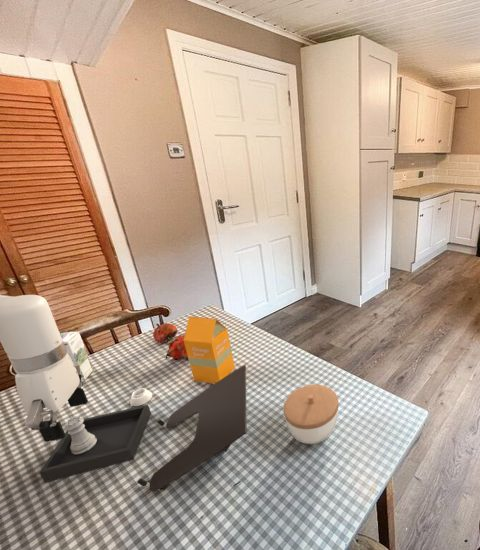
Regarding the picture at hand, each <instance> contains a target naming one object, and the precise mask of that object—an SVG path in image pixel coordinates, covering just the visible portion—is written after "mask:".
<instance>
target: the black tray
mask: <svg viewBox="0 0 480 550" xmlns="http://www.w3.org/2000/svg"><path fill="white" fill-rule="evenodd" d="M151 415H152V412H151V409H150V406H149V404H144V405H139V406H134V407H131V408H126V409H122V410H118V411H117V410H116V411H113V412H108V413H104V414H98V415H95V416H91V417H85V418H83V419H84V421H83V423H82V424H84V425H85V427H84V428H85V429H86V430H87V432H88V433H91V434H93V435H95V438H96V439H97V441H96V444H95V445H94V446H93V448H91V449H90V450H89V451H87V452H85V453H82V454H73V453H72V451H71V448H70V446H71V442H72V438H71V435H70V434H68V430H65V434H66V436H65V437H64V438H63V439H59V442H58V443H57V445H56V446H55V448H54V450H52V452H51V454H50V455H49V456H48V458H47V459H46V461H45V462H44V464H43V466H42V467H41V469H40V471H39V472H38V474H39V476H40V477H41V479H42V481H43V483H45V484H46V483H49V482H50V483H51V482H53V481H54V482H55V481H57V480H60V479H65V478H68V477H73V476H76V475H79V474H84V473H88V472H91V471H95V470H99V469H102V468H106V467H109V466H110V467H111V466H115V465H117V464H122V463H125V462H129V461H132V460H134V459H135V457H136V455H137V454H136V453H137V451H138V449H139V447H140V444H141V441H142V438H143V436H144V433H145V430H146V428H147V426H148V423H149V421H150V417H151Z"/></svg>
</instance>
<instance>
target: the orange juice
mask: <svg viewBox="0 0 480 550" xmlns="http://www.w3.org/2000/svg"><path fill="white" fill-rule="evenodd" d="M184 333H185V337H184V344H185V348H186V352H187V355H188V357H187V359H188V363H189V367H190V370H191V374H192V378H193V381H194V382H198V383H200V382H201V383H209V384H215V383H217V382H218V381H220V380H221V379H223V378H224V377H226V376H228V375H229V374H231V373H232V372H234V369H236V368H235V361H234V356H233V350H232V346H231V342H230V337H229V331H228V328H227V327H226V326H225V325H224V324H223V323H221V322H220V321H219V320H218V319H217V318H209V317H199V316H188V318H187V324H186V328H185V332H184Z"/></svg>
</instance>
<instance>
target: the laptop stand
mask: <svg viewBox="0 0 480 550" xmlns="http://www.w3.org/2000/svg"><path fill="white" fill-rule="evenodd" d="M197 414H198V419H197V425H196V431H195V435H194V438H193V440H192V442H191V443H190V444H189V445H188V446H187V447H186V448H184V449H183V450H182V451H180V452H179V453H178V454H176V455H175V456H173V457H172V458H171V459H170V460H168V461H167V462H166V463H165V464H163V465H162V466H161V467H160V468H159V469H157V470H156V471H155V472H154V473H153V474H152V475H151V478H150V481H149V482H148V481H147V480H146V479H143V478H139V479H138V480H137V484H138V485H140V486H141V487H143V488H146V489H149V491H150V492H152V493H153V492H158V490H159V491H165V490H167V487H169V485H170V484H171V483H173V482H175V481H177V480H178V479H179V478H182V477H183V476H185V475H187V474H188V473H189V472H191V471H193V470H194V469H196V468H197V467H199V466H200V465H202V464H203V463H205V462H206V461H208V460H210V459H211V458H212V457H214V456H215V455H217V454H218V453H221V451H223V450H224V453H227V451H228V450H229V448H230V447H231V445H232V444H233V443H234V442H236V441H237V440H238V439H240V438H241V437H243V436H244V435H247V434H248V433H247V431H248V430H247V428H248V427H247V426H248V425H247V421H248V420H247V365H246V364H244V365H242V366H241V367H239V368H237V369H236V370H233V371H232V372H231V373H230V374H229V375H228V376H226V377H224V378H223V379H221V380H220V381H218V382H217V383H213V384H212V385H210V386H209V387H207V388H206V389H204V390H203V391H202V392H200V393H199V394H197V395H195V396H194V397H193V398H191V399H190V400H189V401H187V402H186V403H185V404H183V405H181V406H180V407H178V408H177V409H176V410H174V412H173V413H172V414H171V415H170V417H169V418H168V420H167V423H166V422H165V421H163V420H162V419H158V420H157V421H156V423H157V424H159V426H161V427H163V428H166V429H170V428H172V427H174V426H176V425H179V424H180V423H182V422H184V421H185V420H187V419H190V418H191V417H193V416H194V415H197Z"/></svg>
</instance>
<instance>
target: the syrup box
mask: <svg viewBox="0 0 480 550" xmlns="http://www.w3.org/2000/svg"><path fill="white" fill-rule="evenodd" d="M60 335H61V337H62V340H63V343H64V345H65V348H66V350H67V353H68V355H69V357H70V358H71V360H72V362H73V364H74V366H77V365H79V366H80V374H81V375H82V378H81V383H84V382H86V380H87V379H88V378H89V377H90V375H91V374H92V373H93V372H94V368H93V364H92V362H91V360H90V358H89V354H88V352H87V349H86V347H85V345H84V341H83V339H82V337H81V333H80V331H67V332H60Z"/></svg>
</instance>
